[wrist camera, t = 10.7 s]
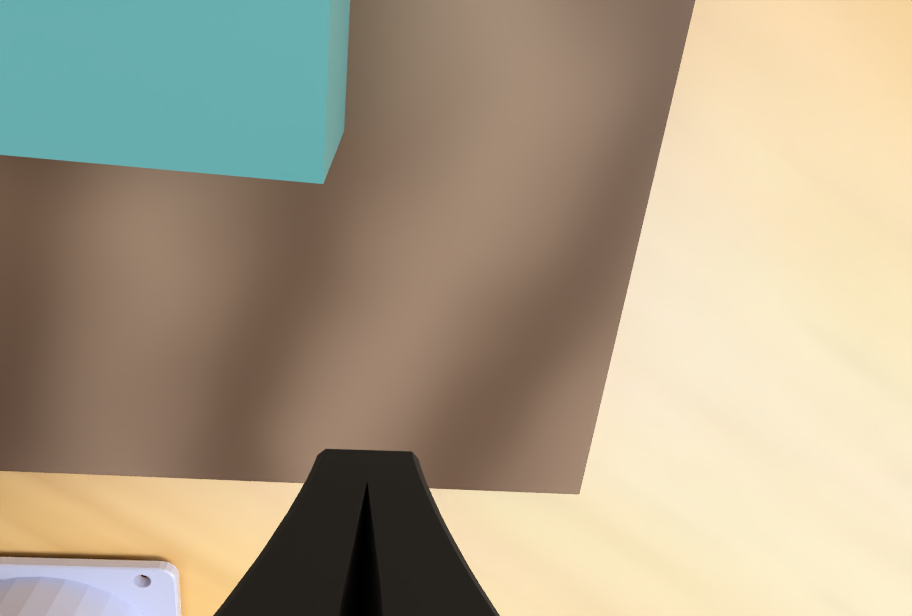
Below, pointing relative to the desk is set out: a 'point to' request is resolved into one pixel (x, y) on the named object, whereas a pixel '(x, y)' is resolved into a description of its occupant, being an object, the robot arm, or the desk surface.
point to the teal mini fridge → (176, 84)
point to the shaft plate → (356, 266)
